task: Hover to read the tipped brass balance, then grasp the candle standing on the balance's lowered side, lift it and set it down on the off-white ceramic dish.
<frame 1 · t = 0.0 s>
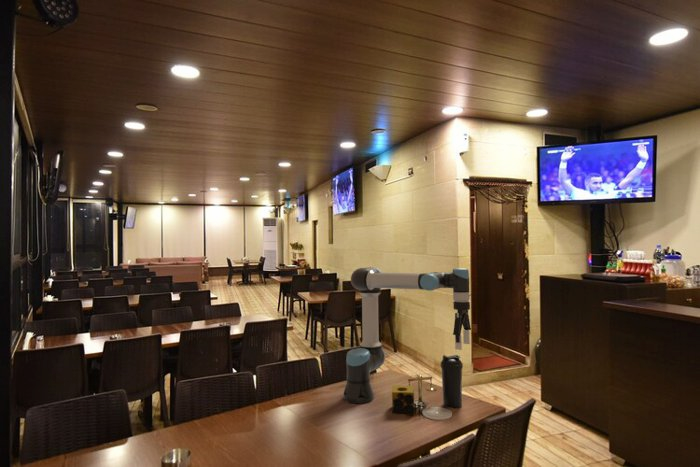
hand: (462, 346, 195), 28 cm above the table, fingers open, 13 cm apart
dish: (437, 414, 186), on the table
water bottle: (452, 405, 197), on the table
candle: (403, 411, 191), on the table
balance: (420, 404, 198), on the table
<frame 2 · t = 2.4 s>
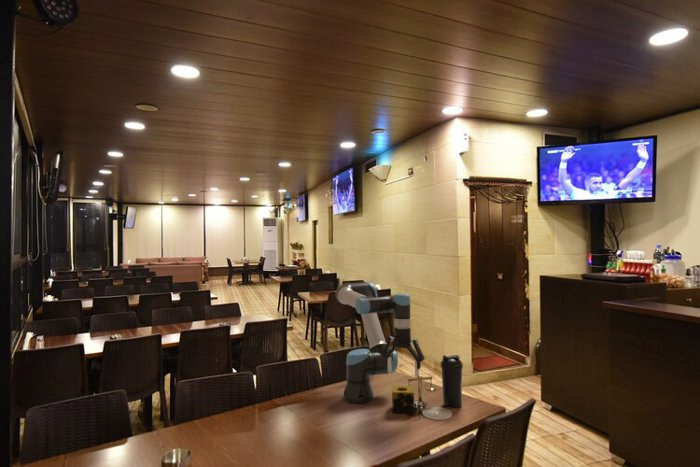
hand: (403, 373, 192), 16 cm above the table, fingers open, 13 cm apart
nothing on the table moved.
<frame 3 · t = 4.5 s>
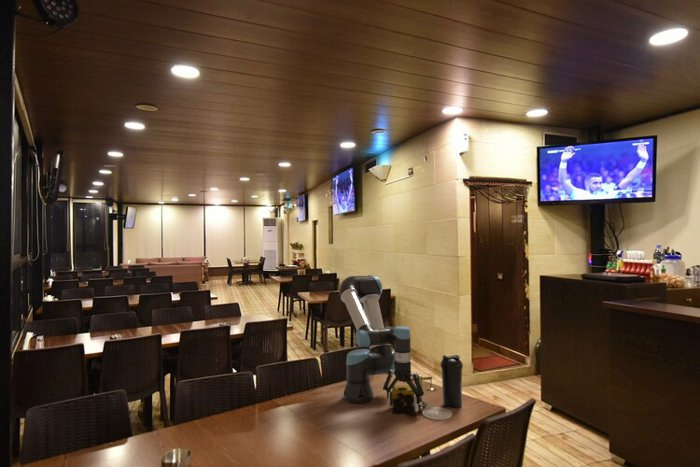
hand: (403, 408, 191), 1 cm above the table, fingers closed on candle, 12 cm apart
candle: (403, 411, 191), on the table, touching gripper
everything else where it was.
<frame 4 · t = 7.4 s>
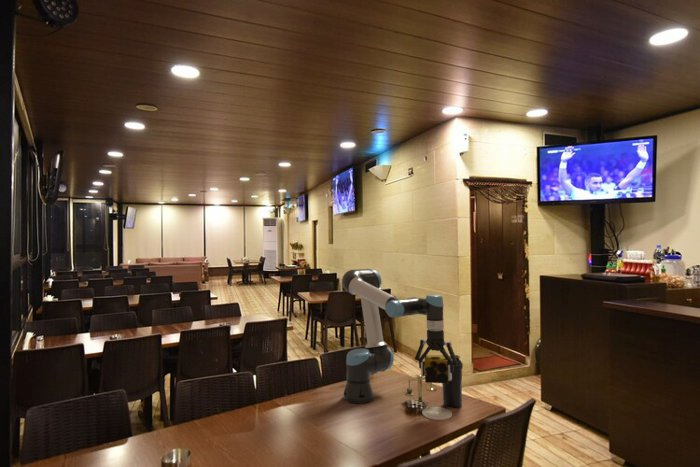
hand: (436, 378, 187), 16 cm above the table, fingers closed on candle, 12 cm apart
candle: (436, 380, 187), point 15 cm above the table, touching gripper
everything else where it was.
when the fingers open (3 cm above the table, at t = 10.6 s): candle drops 1 cm, resting on dish.
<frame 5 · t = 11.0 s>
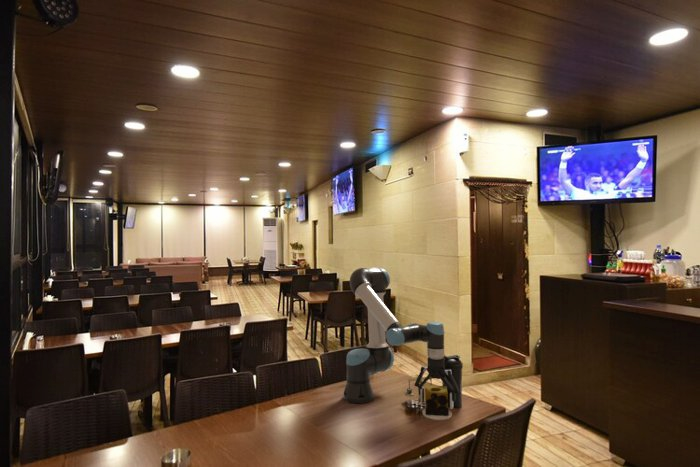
hand: (436, 405, 186), 4 cm above the table, fingers open, 13 cm apart
candle: (436, 412, 186), point 1 cm above the table, touching dish
everything else where it was.
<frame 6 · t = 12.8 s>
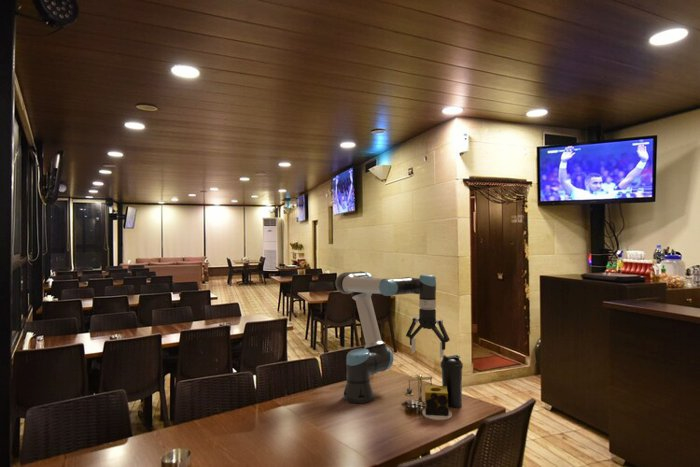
hand: (427, 354, 191), 25 cm above the table, fingers open, 13 cm apart
nothing on the table moved.
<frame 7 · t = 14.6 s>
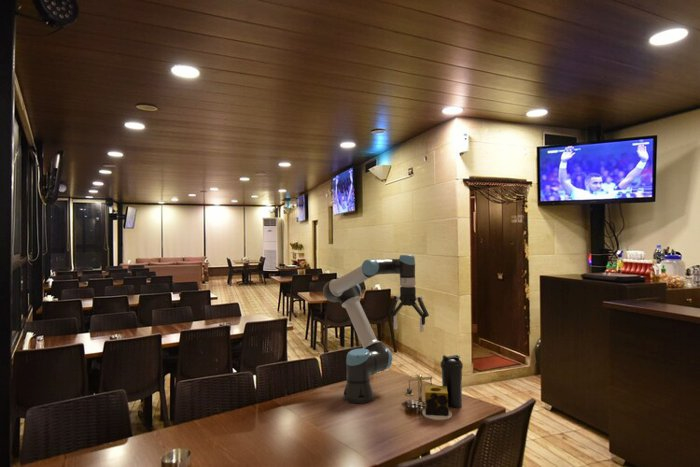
hand: (408, 330, 202), 35 cm above the table, fingers open, 13 cm apart
nothing on the table moved.
at the end: candle 0.1 cm from the dish (horizontally); candle touching dish; candle tilted 0° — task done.
